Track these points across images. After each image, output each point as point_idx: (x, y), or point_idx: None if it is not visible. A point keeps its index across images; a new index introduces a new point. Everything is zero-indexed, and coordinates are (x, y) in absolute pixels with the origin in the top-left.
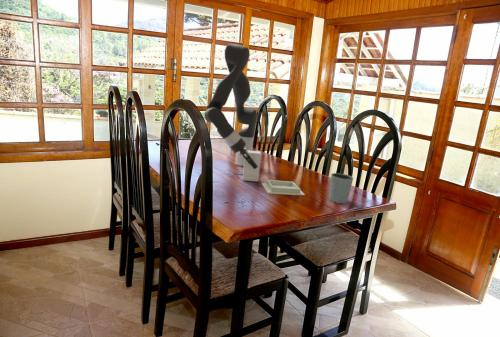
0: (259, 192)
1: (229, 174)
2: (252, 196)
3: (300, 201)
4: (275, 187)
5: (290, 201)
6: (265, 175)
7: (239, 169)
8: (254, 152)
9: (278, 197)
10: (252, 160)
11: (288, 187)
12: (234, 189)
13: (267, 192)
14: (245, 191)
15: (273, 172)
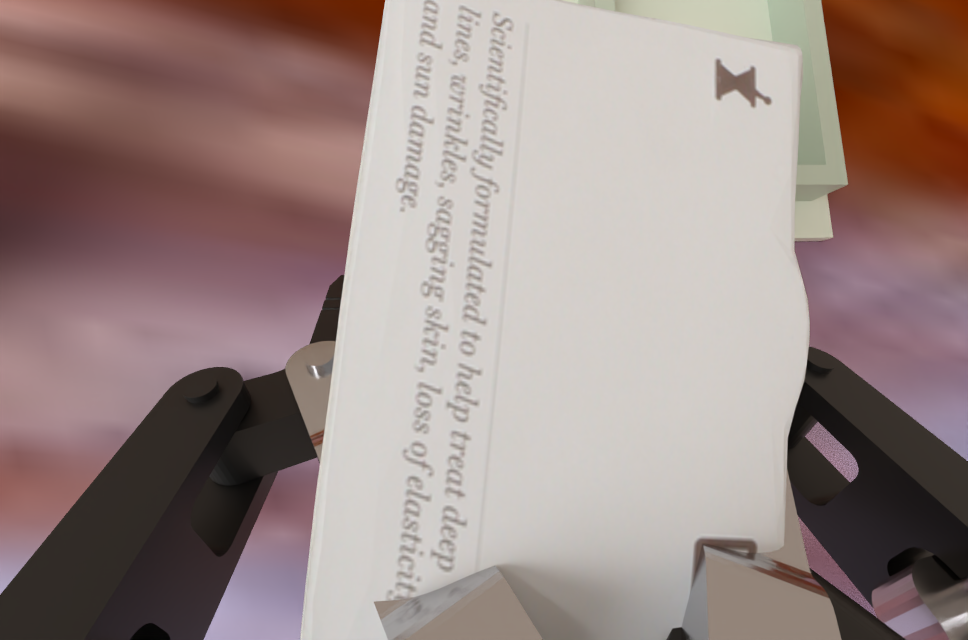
0: (818, 309)
1: (293, 573)
2: (932, 387)
3: (920, 25)
4: (833, 150)
5: (944, 101)
6: (235, 135)
7: (11, 424)
8: (725, 271)
9: (888, 172)
10: (842, 373)
11: (649, 13)
12: (807, 537)
13: (818, 239)
14: (830, 435)
15: (75, 9)
